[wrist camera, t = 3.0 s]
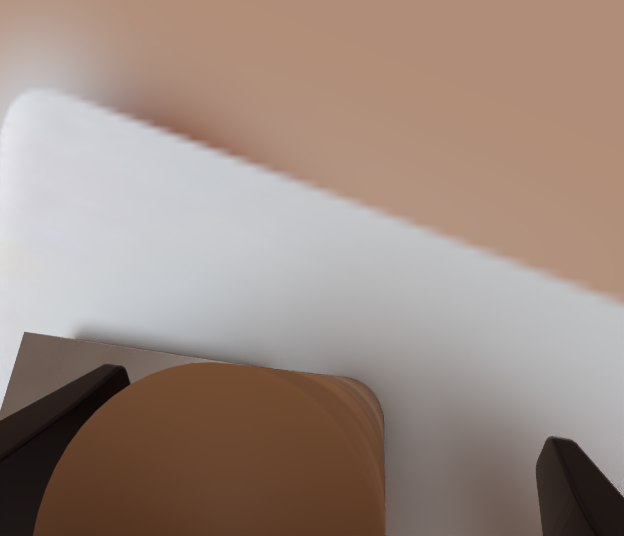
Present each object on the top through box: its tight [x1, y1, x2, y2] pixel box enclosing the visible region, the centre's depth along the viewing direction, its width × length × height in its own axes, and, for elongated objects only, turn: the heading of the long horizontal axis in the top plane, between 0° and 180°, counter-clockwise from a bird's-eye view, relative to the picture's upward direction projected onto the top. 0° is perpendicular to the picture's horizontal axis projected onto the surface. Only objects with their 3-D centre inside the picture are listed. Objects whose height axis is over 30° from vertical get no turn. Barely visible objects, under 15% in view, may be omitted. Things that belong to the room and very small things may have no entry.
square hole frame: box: [0, 332, 256, 420], centre depth 16 cm, size 9×9×2 cm
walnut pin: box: [33, 362, 385, 536], centre depth 10 cm, size 3×3×13 cm
